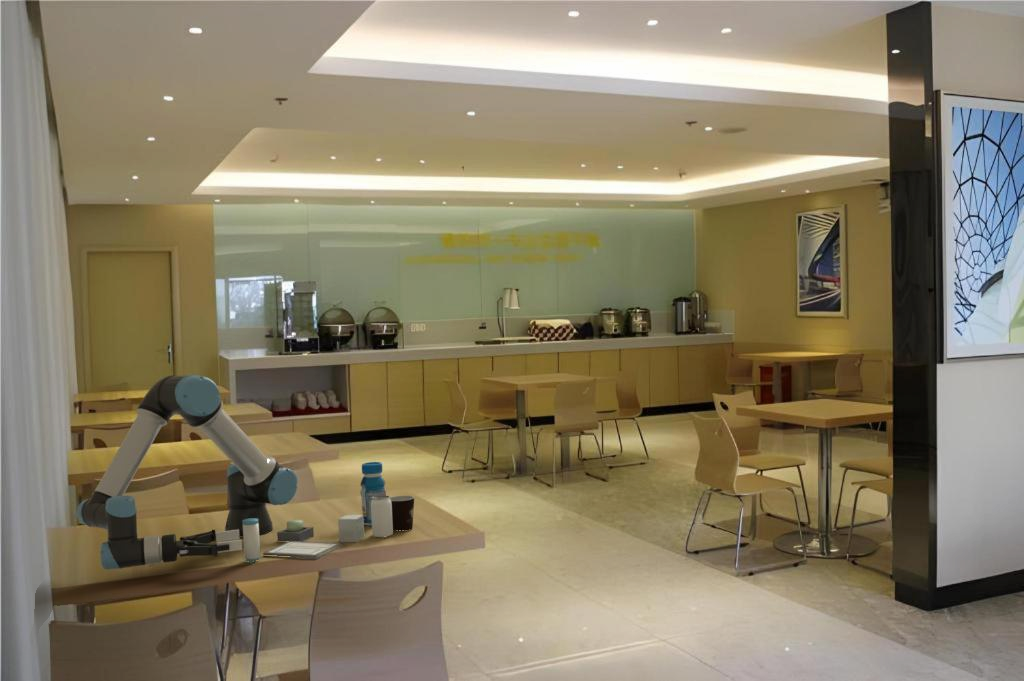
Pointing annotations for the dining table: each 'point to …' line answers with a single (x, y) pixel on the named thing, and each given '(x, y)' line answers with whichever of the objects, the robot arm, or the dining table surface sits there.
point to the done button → (295, 526)
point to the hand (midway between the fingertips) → (240, 539)
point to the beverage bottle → (371, 487)
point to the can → (381, 516)
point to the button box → (295, 534)
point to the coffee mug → (402, 512)
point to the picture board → (303, 549)
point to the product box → (351, 528)
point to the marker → (251, 539)
